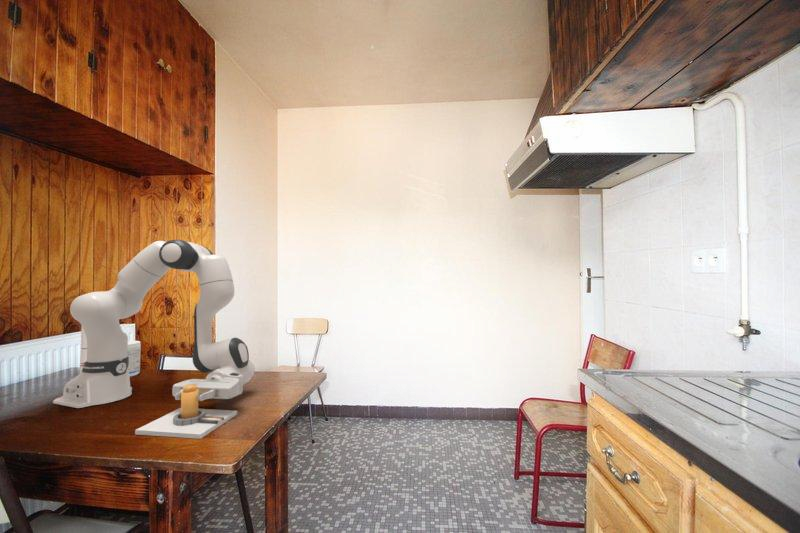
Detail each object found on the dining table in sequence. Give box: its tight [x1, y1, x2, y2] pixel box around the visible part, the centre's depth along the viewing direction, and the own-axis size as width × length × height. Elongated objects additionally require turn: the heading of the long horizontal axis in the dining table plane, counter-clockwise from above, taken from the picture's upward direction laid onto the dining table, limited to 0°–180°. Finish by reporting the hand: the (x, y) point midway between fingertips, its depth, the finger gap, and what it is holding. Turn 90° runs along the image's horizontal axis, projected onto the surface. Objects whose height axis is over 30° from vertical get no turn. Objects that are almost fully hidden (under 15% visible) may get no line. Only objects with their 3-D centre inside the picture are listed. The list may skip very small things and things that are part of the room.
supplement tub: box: [127, 340, 142, 378], centre depth 147 cm, size 10×10×15 cm
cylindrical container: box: [79, 326, 87, 374], centre depth 147 cm, size 7×7×25 cm
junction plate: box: [134, 407, 238, 440], centre depth 98 cm, size 20×16×3 cm
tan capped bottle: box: [180, 384, 199, 419], centre depth 98 cm, size 4×4×10 cm
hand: (187, 397), depth 97 cm, fingers open, 6 cm apart
